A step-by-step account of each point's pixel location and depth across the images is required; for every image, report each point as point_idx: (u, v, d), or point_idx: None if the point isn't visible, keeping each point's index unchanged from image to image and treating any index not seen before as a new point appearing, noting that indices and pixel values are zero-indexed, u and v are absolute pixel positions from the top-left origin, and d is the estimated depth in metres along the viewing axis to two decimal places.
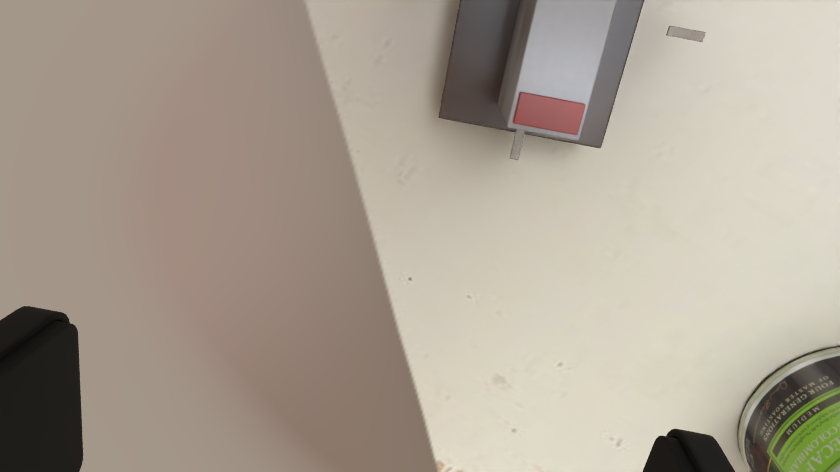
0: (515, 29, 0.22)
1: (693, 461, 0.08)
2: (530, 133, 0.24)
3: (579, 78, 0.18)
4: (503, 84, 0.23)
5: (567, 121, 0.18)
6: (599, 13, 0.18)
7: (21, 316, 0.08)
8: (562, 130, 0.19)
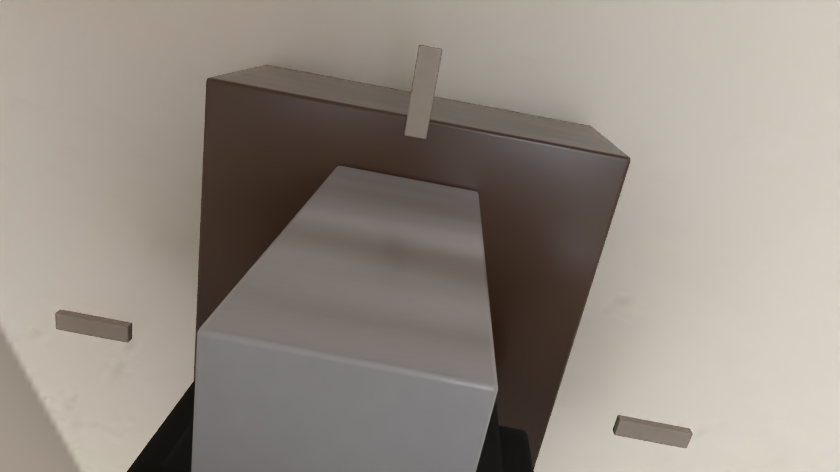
0: None
1: None
2: None
3: None
4: None
5: None
6: None
7: None
8: None
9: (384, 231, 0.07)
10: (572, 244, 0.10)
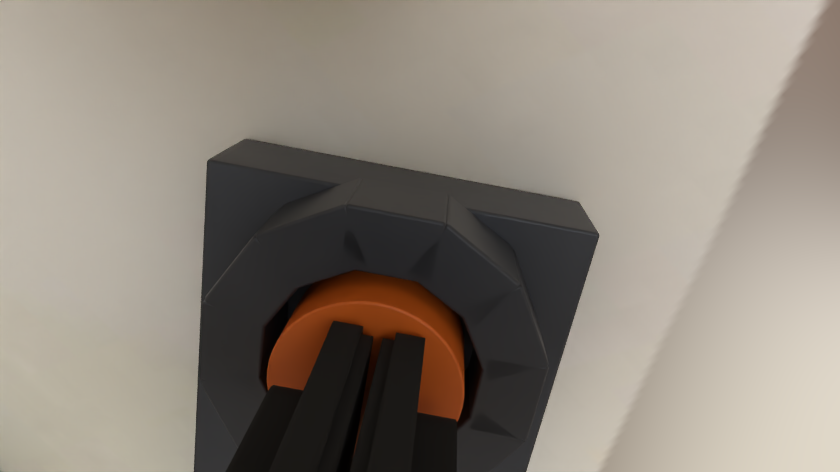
0: None
1: (391, 353, 0.09)
2: None
3: None
4: None
5: None
6: None
7: (340, 330, 0.09)
8: None
9: None
10: None
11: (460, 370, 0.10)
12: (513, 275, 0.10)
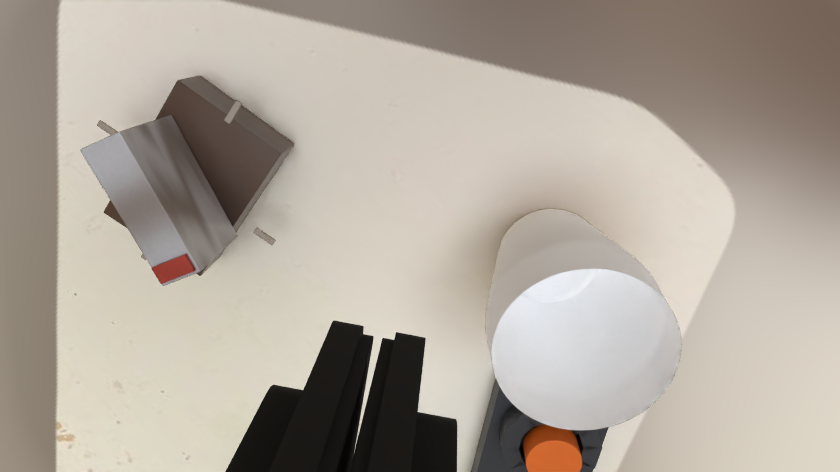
0: None
1: (391, 354, 0.09)
2: None
3: (174, 243, 0.30)
4: None
5: (183, 267, 0.30)
6: (155, 209, 0.30)
7: (340, 330, 0.09)
8: (186, 272, 0.31)
9: None
10: (259, 170, 0.34)
11: (581, 458, 0.37)
12: None
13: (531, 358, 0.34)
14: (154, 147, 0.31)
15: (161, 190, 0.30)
